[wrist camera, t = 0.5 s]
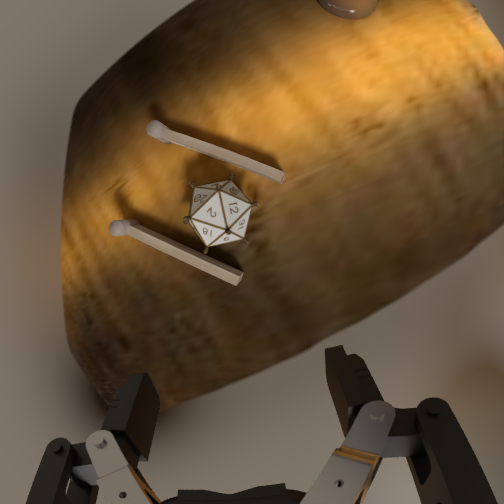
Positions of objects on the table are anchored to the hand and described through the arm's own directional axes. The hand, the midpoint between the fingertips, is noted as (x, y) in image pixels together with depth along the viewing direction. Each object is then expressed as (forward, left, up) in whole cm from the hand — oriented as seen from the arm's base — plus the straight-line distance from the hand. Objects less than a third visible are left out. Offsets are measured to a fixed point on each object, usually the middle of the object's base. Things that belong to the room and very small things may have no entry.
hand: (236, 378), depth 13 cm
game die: (-4, -9, -27) cm, 29 cm away
